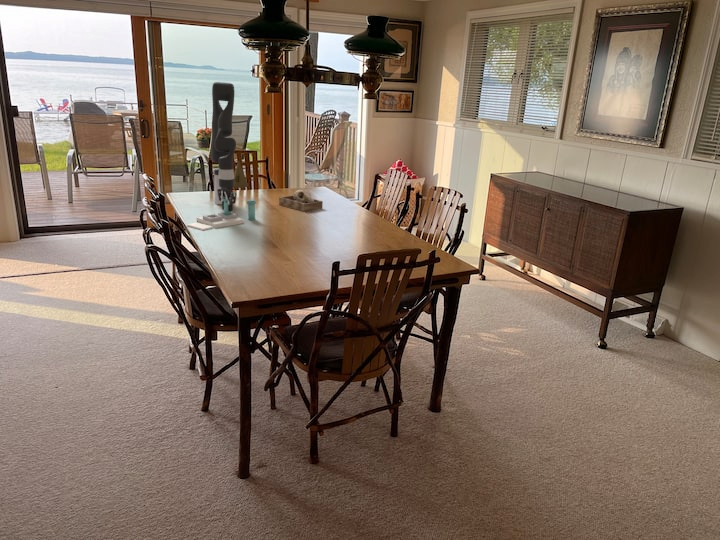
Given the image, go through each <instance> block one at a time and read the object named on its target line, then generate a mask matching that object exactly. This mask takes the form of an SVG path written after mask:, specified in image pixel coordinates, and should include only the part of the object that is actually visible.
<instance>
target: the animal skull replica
mask: <svg viewBox="0 0 720 540" xmlns="http://www.w3.org/2000/svg"><path fill="white" fill-rule="evenodd" d="M292 195H293V198H294V201H297V202H301V203H305V204H306V203H312V202H314V200H313V199H314V198H313V197H312V195H311V193H310V192H309V191H308V190H304V189H298V190H296V191H294V193H293V194H292Z"/></svg>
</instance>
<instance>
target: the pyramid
mask: <svg viewBox="0 0 720 540" xmlns="http://www.w3.org/2000/svg"><path fill="white" fill-rule="evenodd" d="M233 188H238V189H243V188H244V189H245V188H249V183H248V180H247V179H246V176H245V172H244V170H243V168H242V165H241V162H240V160H238V162H237V164H236V167H235V170H234V187H233ZM233 188H232V189H233Z"/></svg>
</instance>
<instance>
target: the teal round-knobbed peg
mask: <svg viewBox="0 0 720 540" xmlns="http://www.w3.org/2000/svg"><path fill="white" fill-rule="evenodd" d="M246 204H247V216H248V217H247V220H248V221H255V220H256V204H257V200H255V199H248V200H246Z"/></svg>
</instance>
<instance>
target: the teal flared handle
mask: <svg viewBox="0 0 720 540" xmlns="http://www.w3.org/2000/svg"><path fill="white" fill-rule="evenodd" d="M223 201H224V210H223V213H224V215H231V212H232V211H231V212H229V211H228V200H226V197H225V198H223ZM229 201H230V200H229Z"/></svg>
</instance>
